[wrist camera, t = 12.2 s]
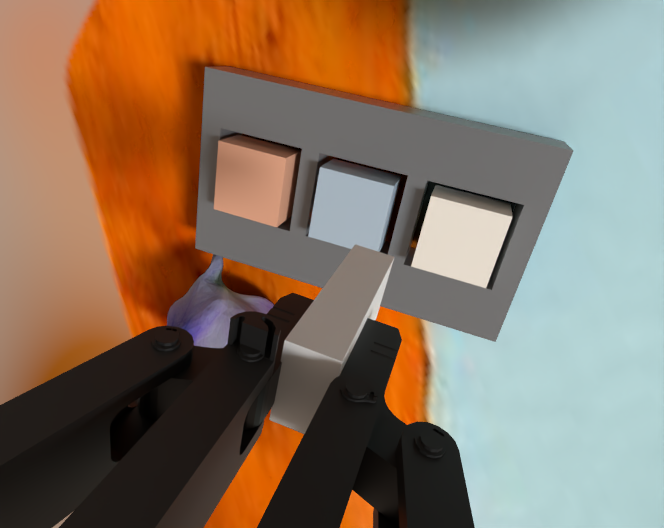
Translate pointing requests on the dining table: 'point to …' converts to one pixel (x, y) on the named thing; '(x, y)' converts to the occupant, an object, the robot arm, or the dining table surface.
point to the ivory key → (462, 235)
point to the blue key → (353, 205)
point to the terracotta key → (256, 179)
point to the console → (385, 153)
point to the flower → (212, 308)
